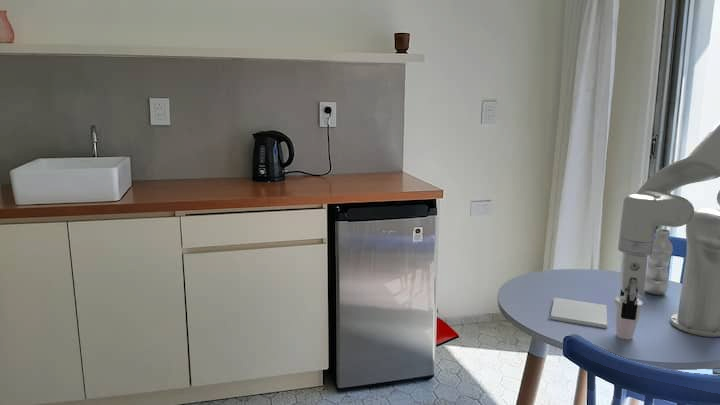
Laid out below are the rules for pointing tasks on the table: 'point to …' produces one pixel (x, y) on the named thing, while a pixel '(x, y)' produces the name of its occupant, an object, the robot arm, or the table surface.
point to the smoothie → (625, 320)
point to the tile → (579, 312)
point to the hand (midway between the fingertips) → (627, 311)
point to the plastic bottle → (659, 263)
